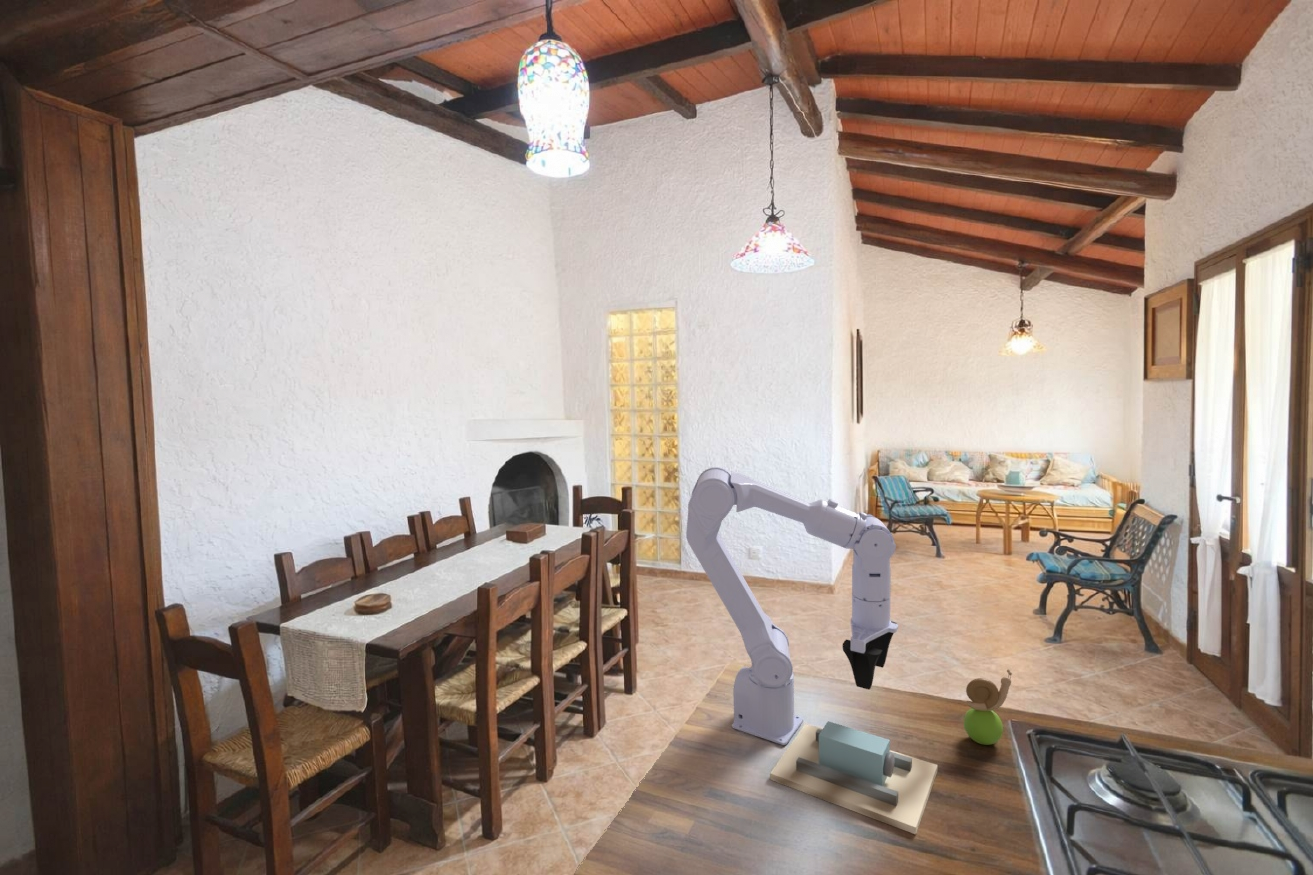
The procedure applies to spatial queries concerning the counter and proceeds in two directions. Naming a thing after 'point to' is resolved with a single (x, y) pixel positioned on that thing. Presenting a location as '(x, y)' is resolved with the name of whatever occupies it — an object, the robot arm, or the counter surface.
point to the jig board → (858, 783)
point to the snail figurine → (985, 709)
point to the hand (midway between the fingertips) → (870, 675)
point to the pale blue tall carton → (856, 753)
